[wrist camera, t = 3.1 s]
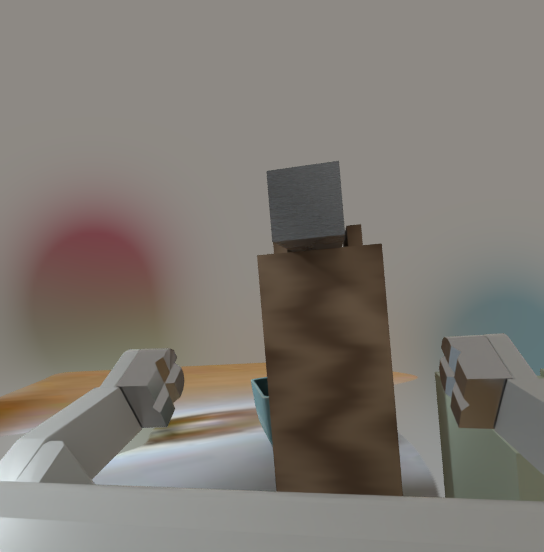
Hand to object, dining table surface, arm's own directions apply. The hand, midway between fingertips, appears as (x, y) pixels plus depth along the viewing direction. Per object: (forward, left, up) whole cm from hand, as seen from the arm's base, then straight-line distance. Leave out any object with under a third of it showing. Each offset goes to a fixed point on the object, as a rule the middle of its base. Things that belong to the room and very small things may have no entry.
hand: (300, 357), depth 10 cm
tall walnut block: (-9, +19, -22) cm, 30 cm away
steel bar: (-7, +15, +4) cm, 17 cm away
